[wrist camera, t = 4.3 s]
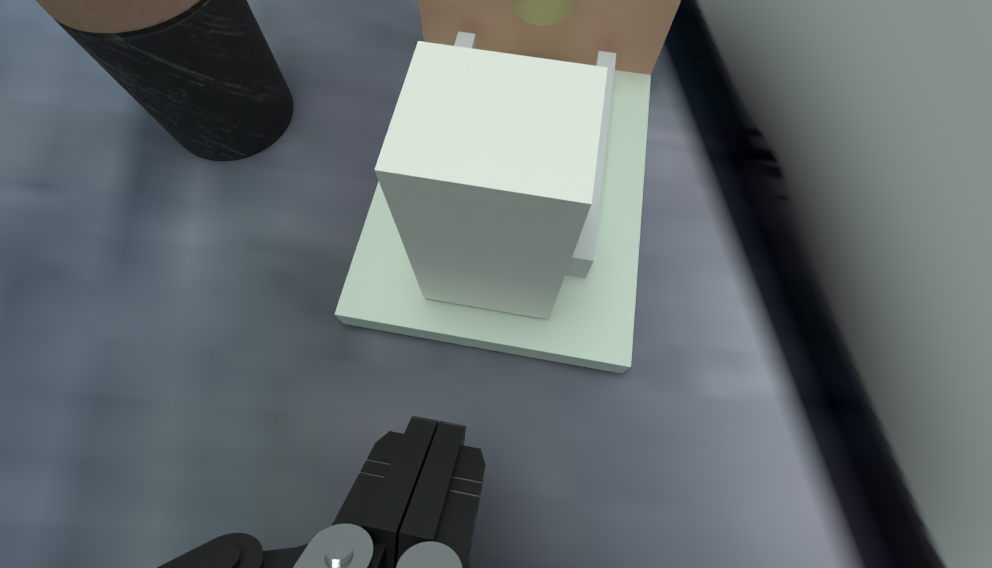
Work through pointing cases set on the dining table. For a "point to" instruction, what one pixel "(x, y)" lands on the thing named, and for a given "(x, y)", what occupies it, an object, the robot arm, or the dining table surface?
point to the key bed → (615, 203)
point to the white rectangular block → (492, 173)
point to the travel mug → (188, 68)
